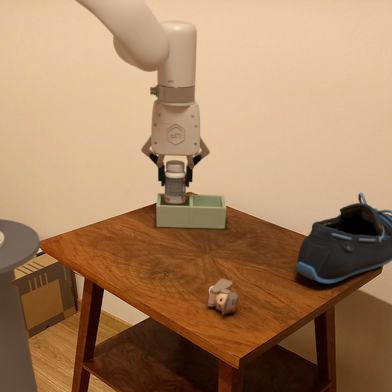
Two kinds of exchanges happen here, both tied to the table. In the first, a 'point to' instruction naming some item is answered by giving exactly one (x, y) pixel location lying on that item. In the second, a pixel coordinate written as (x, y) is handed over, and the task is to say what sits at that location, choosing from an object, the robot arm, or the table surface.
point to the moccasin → (347, 244)
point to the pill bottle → (175, 182)
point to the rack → (192, 212)
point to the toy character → (223, 296)
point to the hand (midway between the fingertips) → (175, 183)
